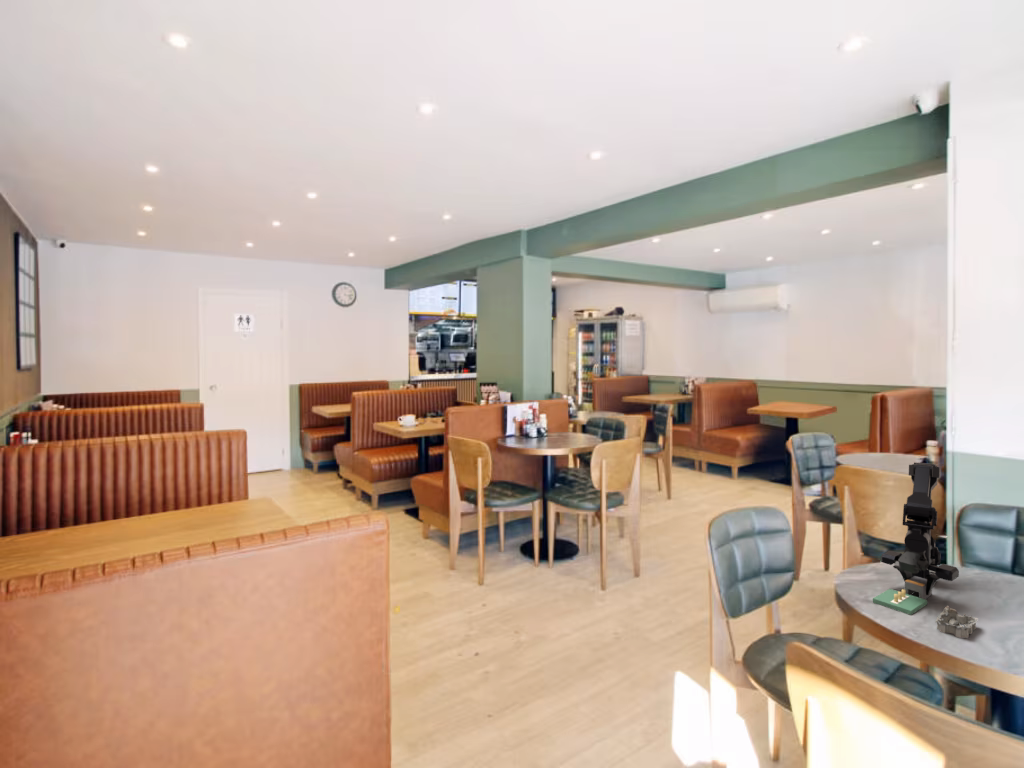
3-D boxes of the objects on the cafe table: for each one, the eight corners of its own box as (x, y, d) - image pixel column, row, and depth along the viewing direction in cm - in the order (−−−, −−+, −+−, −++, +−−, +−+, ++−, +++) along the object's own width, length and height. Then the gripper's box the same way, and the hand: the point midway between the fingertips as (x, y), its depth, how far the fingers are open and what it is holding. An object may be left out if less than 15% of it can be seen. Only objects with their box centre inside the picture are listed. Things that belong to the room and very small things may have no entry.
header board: (889, 592, 173) (889, 581, 173) (927, 604, 165) (927, 593, 165) (872, 602, 167) (872, 591, 167) (910, 614, 159) (911, 603, 159)
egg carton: (947, 618, 157) (947, 604, 157) (980, 628, 151) (980, 614, 150) (932, 630, 151) (932, 615, 151) (966, 641, 145) (966, 626, 144)
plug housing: (914, 589, 174) (914, 574, 174) (931, 594, 171) (931, 579, 170) (904, 595, 171) (904, 580, 170) (922, 601, 167) (922, 585, 166)
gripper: (872, 539, 173) (872, 588, 174) (944, 557, 157) (943, 611, 158) (889, 532, 179) (888, 579, 180) (960, 548, 163) (959, 600, 164)
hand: (918, 592), depth 170 cm, fingers closed on plug housing, 5 cm apart
